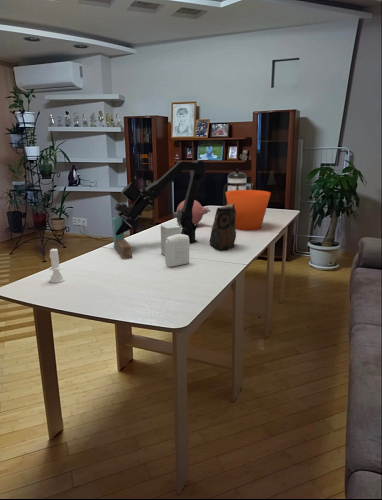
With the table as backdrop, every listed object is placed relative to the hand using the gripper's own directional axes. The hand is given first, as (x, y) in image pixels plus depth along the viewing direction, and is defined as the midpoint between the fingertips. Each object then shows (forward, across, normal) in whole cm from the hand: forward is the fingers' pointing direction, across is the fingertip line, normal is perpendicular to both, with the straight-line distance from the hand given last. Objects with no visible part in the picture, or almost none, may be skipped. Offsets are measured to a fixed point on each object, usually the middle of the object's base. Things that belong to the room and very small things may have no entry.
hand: (115, 233), depth 175 cm
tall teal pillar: (+4, 0, +6) cm, 7 cm away
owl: (-28, +16, +38) cm, 50 cm away
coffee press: (-59, -54, +70) cm, 106 cm away
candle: (+25, +33, -15) cm, 44 cm away
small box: (-9, +20, +19) cm, 29 cm away
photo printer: (-8, +33, +18) cm, 38 cm away
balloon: (-31, -31, +42) cm, 60 cm away
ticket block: (+4, +10, +6) cm, 13 cm away
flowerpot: (-50, -15, +60) cm, 79 cm away
